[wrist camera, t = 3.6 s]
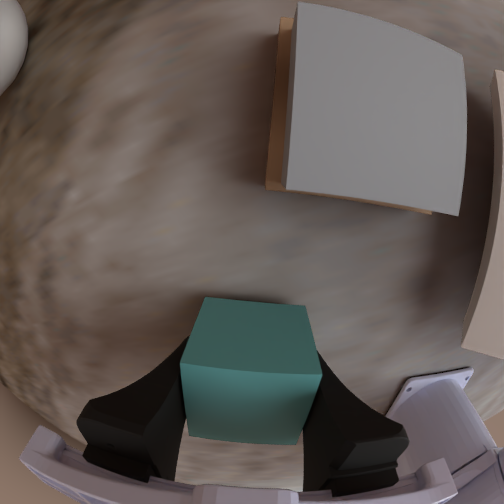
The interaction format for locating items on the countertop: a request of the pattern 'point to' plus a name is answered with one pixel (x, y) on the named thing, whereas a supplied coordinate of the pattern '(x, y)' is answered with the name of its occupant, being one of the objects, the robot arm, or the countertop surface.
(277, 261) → the countertop surface
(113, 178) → the countertop surface
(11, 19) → the donut
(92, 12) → the countertop surface
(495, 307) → the stacked pizza boxes
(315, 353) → the teal cube
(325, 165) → the tower top
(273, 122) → the block
